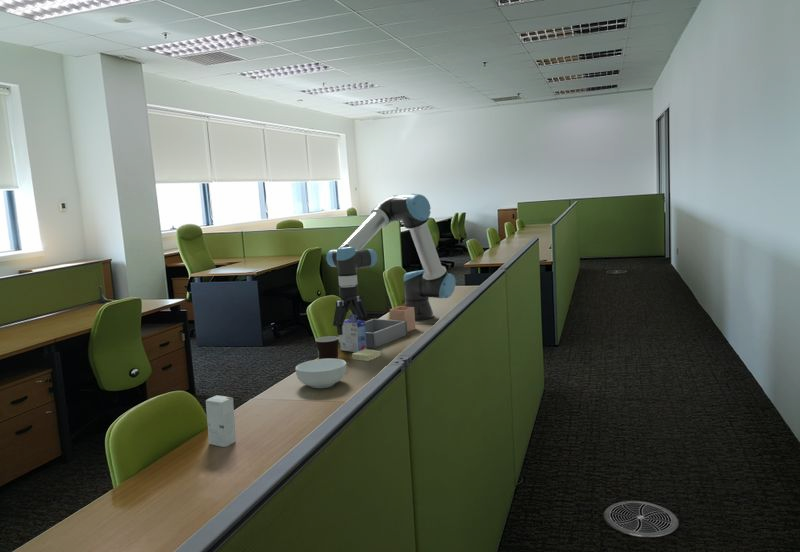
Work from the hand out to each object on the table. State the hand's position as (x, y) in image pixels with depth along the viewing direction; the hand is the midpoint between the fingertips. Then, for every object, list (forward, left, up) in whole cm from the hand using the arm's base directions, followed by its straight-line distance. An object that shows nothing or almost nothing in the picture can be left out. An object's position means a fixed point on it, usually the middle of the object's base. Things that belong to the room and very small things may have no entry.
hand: (352, 339), depth 250 cm
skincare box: (+88, +28, -5) cm, 93 cm away
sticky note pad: (+6, +12, -5) cm, 15 cm away
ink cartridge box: (-1, 0, -5) cm, 5 cm away
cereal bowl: (+39, +19, -5) cm, 44 cm away
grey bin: (-19, -3, -5) cm, 19 cm away
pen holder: (-38, -1, -5) cm, 38 cm away
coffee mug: (+19, +5, -5) cm, 20 cm away
